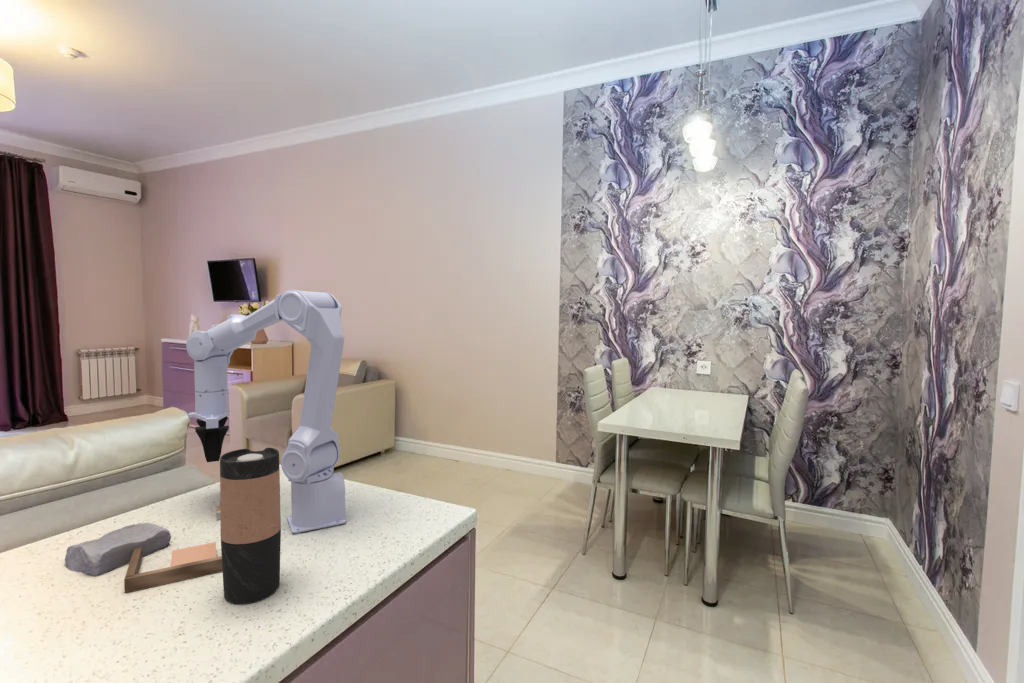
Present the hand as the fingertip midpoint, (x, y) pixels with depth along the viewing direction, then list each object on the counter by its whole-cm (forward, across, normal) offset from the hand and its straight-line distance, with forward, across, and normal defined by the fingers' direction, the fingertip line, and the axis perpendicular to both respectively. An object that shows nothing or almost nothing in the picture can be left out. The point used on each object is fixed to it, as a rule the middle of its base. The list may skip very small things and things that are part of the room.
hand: (212, 456), depth 101 cm
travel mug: (+11, +38, +5) cm, 40 cm away
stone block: (+11, +16, -14) cm, 23 cm away
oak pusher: (+11, +6, +4) cm, 13 cm away
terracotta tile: (+11, +25, -3) cm, 27 cm away
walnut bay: (+10, +24, -3) cm, 27 cm away
